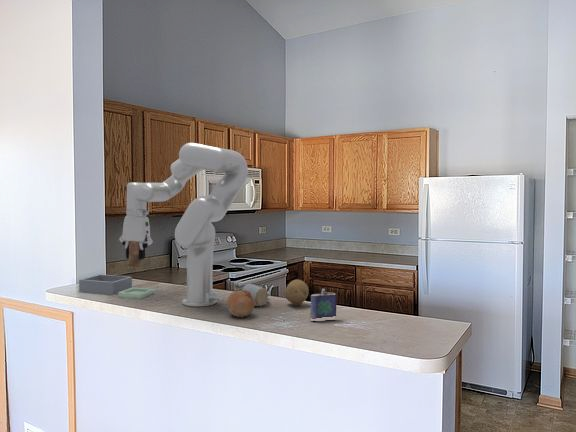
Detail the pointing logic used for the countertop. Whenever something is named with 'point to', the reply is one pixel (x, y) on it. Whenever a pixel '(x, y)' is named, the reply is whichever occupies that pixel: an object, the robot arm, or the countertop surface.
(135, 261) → the walnut cylinder
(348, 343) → the countertop surface
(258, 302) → the ceramic mug
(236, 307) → the onion
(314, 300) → the flask
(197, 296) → the robot arm
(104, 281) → the deep bin
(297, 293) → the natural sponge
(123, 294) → the tray
